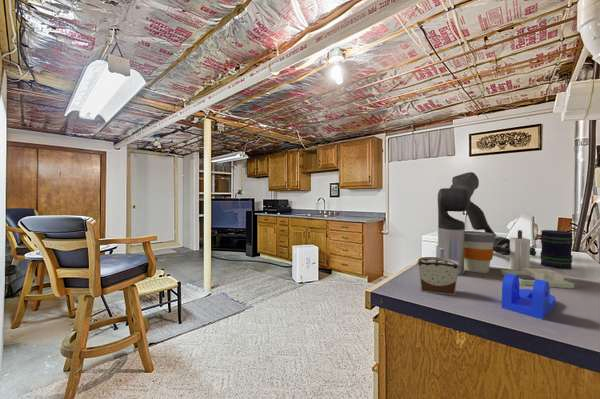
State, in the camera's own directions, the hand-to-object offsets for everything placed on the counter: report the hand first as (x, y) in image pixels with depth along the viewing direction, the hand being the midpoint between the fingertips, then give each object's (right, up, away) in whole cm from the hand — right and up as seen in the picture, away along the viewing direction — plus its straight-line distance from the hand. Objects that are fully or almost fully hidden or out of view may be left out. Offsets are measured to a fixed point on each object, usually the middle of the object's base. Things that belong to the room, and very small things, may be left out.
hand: (522, 252), depth 105 cm
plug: (0, -7, +2) cm, 8 cm away
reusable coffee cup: (-17, -8, +3) cm, 19 cm away
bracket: (-24, -8, -32) cm, 41 cm away
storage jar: (+21, -8, +8) cm, 24 cm away
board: (-5, -8, -11) cm, 14 cm away
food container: (-45, -8, -20) cm, 50 cm away
